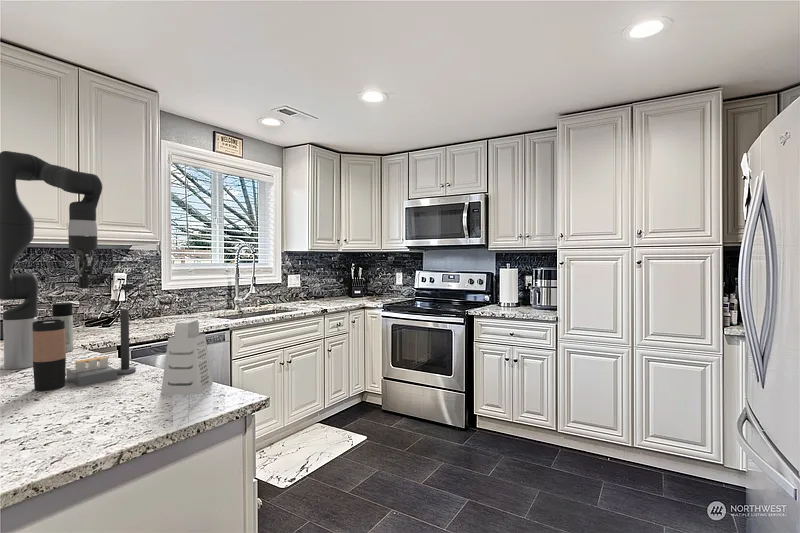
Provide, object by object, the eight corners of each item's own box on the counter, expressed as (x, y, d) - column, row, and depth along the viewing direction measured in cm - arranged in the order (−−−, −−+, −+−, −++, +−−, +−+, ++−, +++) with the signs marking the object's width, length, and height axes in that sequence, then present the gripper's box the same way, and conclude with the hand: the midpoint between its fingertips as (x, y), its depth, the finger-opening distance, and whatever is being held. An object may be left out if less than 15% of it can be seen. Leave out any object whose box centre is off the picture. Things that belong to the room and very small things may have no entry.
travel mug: (27, 392, 124) (26, 323, 123) (41, 385, 131) (40, 319, 131) (58, 390, 126) (57, 322, 125) (71, 383, 133) (69, 318, 133)
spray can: (77, 349, 180) (76, 302, 180) (63, 353, 174) (62, 304, 173) (63, 349, 181) (62, 302, 180) (48, 353, 174) (47, 304, 174)
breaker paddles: (75, 370, 135) (75, 360, 134) (106, 365, 141) (106, 356, 141) (76, 372, 134) (77, 362, 133) (107, 366, 141) (108, 357, 140)
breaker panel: (66, 378, 138) (66, 368, 138) (102, 371, 146) (102, 362, 146) (79, 386, 130) (79, 376, 130) (117, 379, 137) (117, 369, 137)
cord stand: (111, 372, 145) (111, 310, 145) (131, 369, 149) (130, 308, 149) (118, 375, 141) (117, 311, 141) (138, 372, 146) (137, 309, 146)
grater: (212, 382, 133) (212, 318, 133) (198, 393, 123) (197, 324, 122) (178, 383, 133) (177, 319, 133) (160, 394, 123) (159, 324, 122)
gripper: (62, 234, 139) (63, 287, 140) (75, 234, 131) (75, 290, 132) (90, 235, 145) (90, 286, 146) (103, 235, 137) (104, 289, 138)
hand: (83, 288), depth 139 cm, fingers closed
